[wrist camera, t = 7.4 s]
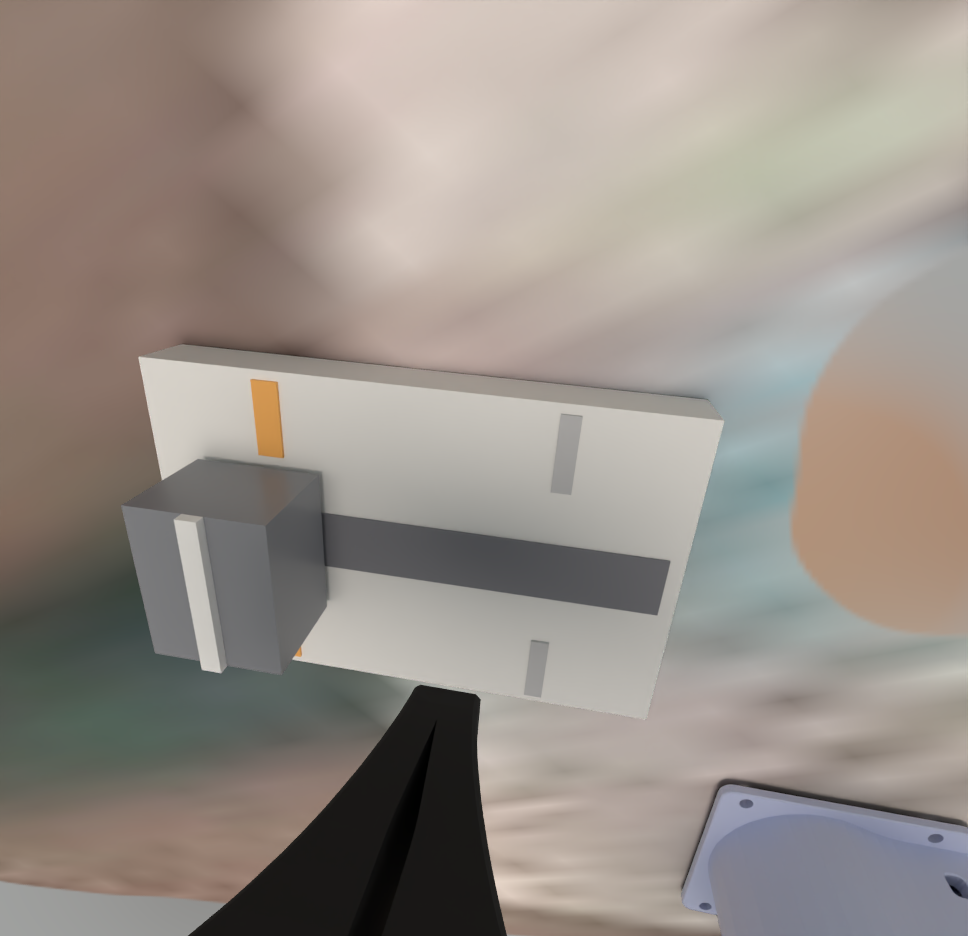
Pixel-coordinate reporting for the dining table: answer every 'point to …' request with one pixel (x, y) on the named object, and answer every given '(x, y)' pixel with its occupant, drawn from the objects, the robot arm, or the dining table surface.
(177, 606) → the fader cap
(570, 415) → the console
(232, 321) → the dining table surface
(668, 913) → the dining table surface
